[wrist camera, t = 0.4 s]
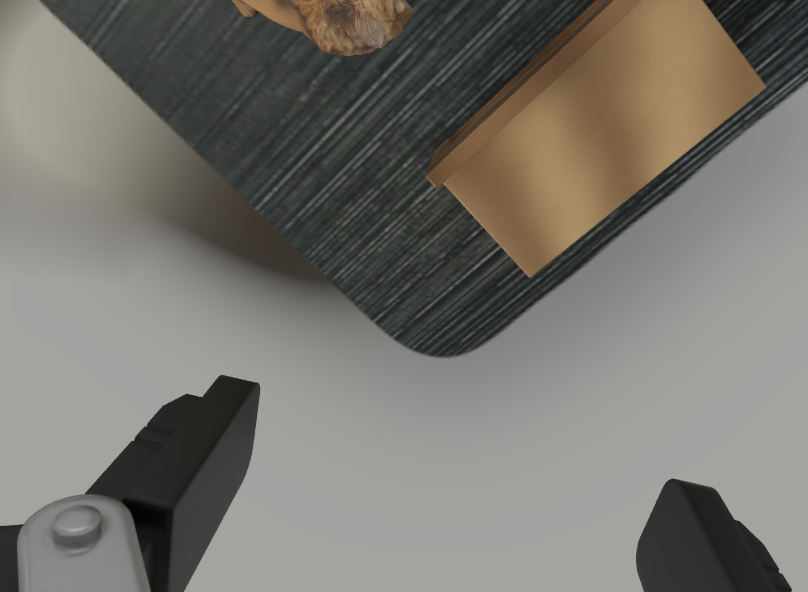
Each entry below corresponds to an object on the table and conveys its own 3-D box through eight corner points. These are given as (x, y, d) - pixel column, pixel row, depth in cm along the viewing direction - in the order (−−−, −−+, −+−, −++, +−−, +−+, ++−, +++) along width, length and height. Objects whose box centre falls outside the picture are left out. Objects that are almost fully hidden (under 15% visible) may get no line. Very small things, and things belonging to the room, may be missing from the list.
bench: (518, 244, 38) (536, 298, 29) (434, 150, 37) (424, 176, 27) (708, 85, 34) (802, 88, 25) (622, -28, 32) (688, -70, 23)
